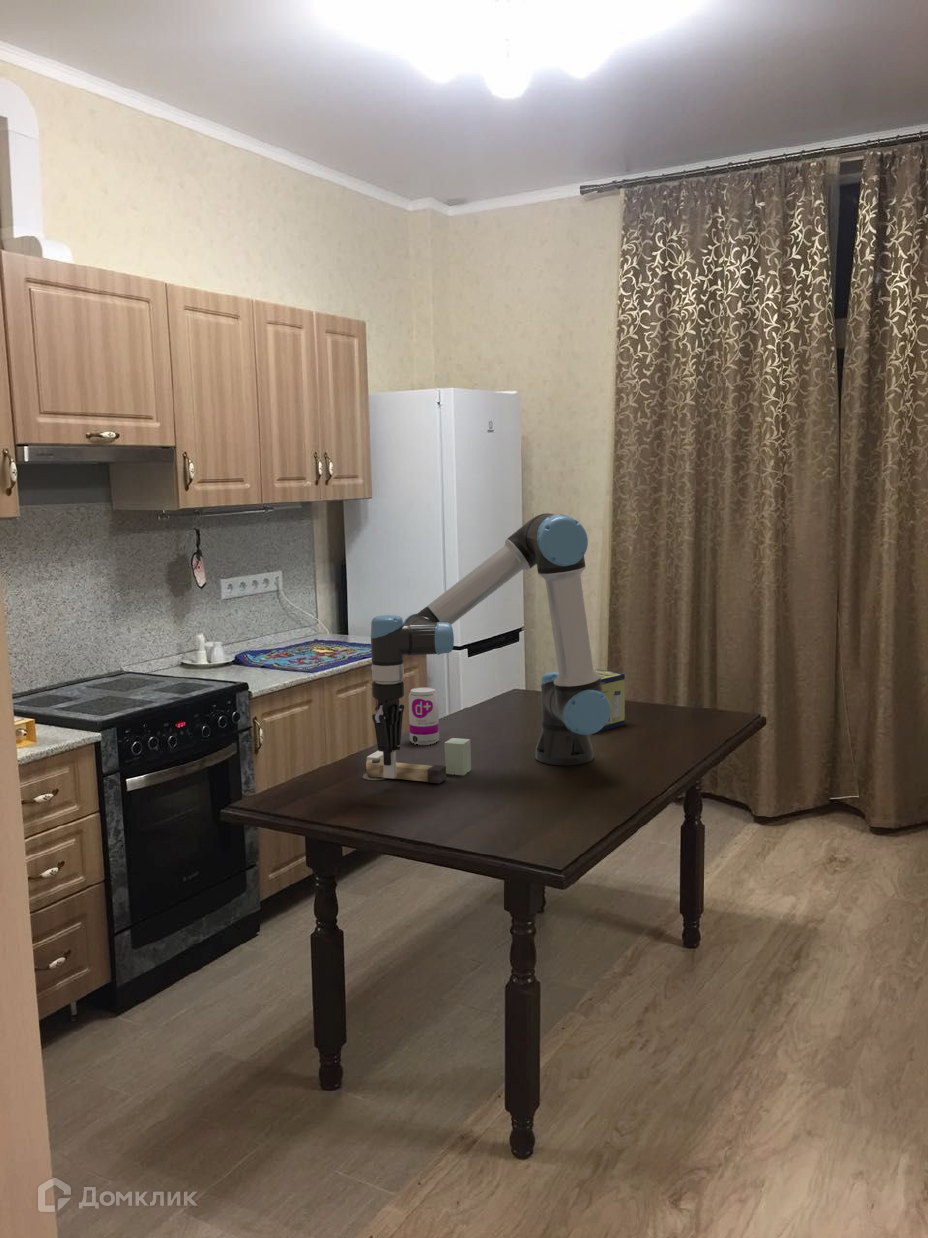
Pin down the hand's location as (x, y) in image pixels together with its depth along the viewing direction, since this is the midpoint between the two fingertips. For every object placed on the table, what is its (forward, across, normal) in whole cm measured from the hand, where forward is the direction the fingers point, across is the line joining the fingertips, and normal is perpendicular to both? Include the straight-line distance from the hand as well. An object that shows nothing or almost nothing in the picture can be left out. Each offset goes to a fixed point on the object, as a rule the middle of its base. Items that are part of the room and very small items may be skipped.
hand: (390, 777), depth 251 cm
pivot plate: (+3, -8, -8) cm, 12 cm away
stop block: (+3, -17, -12) cm, 21 cm away
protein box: (+2, -73, +31) cm, 80 cm away
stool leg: (+2, -8, 0) cm, 9 cm away
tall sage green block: (+3, -18, +10) cm, 21 cm away
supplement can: (+3, -42, -10) cm, 43 cm away
